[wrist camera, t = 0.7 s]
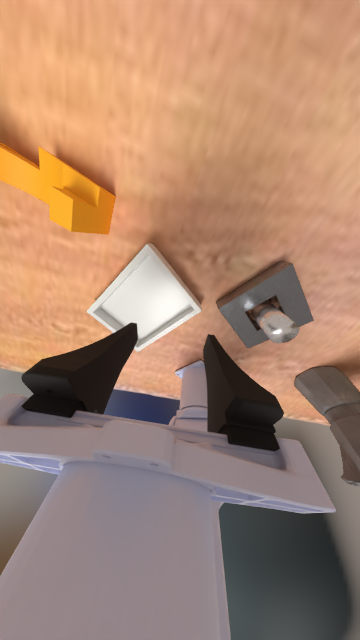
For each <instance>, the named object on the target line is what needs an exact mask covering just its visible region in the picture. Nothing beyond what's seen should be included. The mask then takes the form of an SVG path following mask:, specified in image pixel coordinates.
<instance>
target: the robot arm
mask: <svg viewBox="0 0 360 640" xmlns="http://www.w3.org/2000/svg"><path fill="white" fill-rule="evenodd" d="M137 340H138V330H137V323H132V322H131V323H129V324H128V325H126V326H124V327H123V328H121V329H119V330H118V331H116V332H114V333H113V334H111V335H109V336H107V337H105V338H104V339H102V340H99V341H97V342H95V343H93V344H90V345H88V346H85V347H83V348H80V349H77V350H74V351H71V352H68V353H65V354H61V355H57V356H53V357H49V358H45V359H42V360H41V361H39V362H38V363H37V364H35V365H34V366H33V367H32V368H30V369H29V370H28V371H26V372H25V373H24V374H23V375H22V381H23V382H24V383H25V385H26V386H27V387H28V388H29V389H30V390H31V391H32V392H33V393H34V394H33V395H32V396H31V397H30V398H27V397H24V396H20V395H14V394H6V395H4V396H3V397H2V398H1V399H0V463H5V464H10V465H15V466H20V467H25V468H30V469H35V470H40V471H44V472H50V473H54V474H59V475H58V477H57V479H56V480H55V482H54V484H53V486H52V487H51V489H50V491H49V492H48V494H47V496H46V498H45V499H44V501H43V503H42V505H41V506H40V508H39V510H38V512H37V513H36V515H35V517H34V518H33V520H32V522H31V524H30V526H29V527H28V529H27V531H26V532H25V534H24V536H23V538H22V539H21V541H20V543H19V544H18V546H17V548H16V550H15V551H14V553H13V555H12V557H11V559H10V560H9V562H8V564H7V565H6V567H5V569H4V571H3V572H2V574H1V576H0V640H231V637H230V627H229V617H228V607H227V596H226V587H225V577H224V566H223V556H222V546H221V536H220V527H219V515H218V510H219V508H220V506H221V505H222V504H223V503H224V502H226V503H234V504H242V505H250V506H258V507H265V508H272V509H279V510H285V511H292V512H298V513H323V512H335V510H336V509H335V508H334V506H333V504H332V502H331V500H330V498H329V496H328V494H327V492H326V491H325V489H324V487H323V485H322V483H321V481H320V479H319V477H318V475H317V474H316V472H315V470H314V468H313V466H312V464H311V462H310V460H309V458H308V457H307V455H306V453H305V451H304V449H303V447H302V445H301V443H300V442H299V441H296V440H290V439H284V438H277V439H276V437H275V435H274V433H275V431H276V430H275V428H274V426H273V424H275V423H276V422H277V421H278V420H280V419H281V418H282V417H283V414H284V412H283V410H282V408H281V406H280V404H279V402H278V400H277V399H276V397H275V396H274V395H273V394H271V393H270V392H268V391H267V390H266V389H264V388H263V387H261V386H260V385H259V384H258V383H256V382H255V381H254V380H253V379H251V378H250V377H249V376H248V375H247V374H246V373H245V372H244V371H242V370H241V369H240V368H239V367H238V366H237V365H236V363H235V362H234V361H233V360H232V359H231V358H230V357H229V355H228V354H227V353H226V352H225V350H224V349H223V348H222V346H221V345H220V343H219V342H218V340H217V339H216V337H215V336H214V335H209V334H208V336H207V340H206V343H205V346H204V349H203V355H204V362H203V361H201V360H199V361H197V362H195V363H193V364H190V365H188V366H186V367H184V368H182V369H180V370H177V371H175V374H176V375H177V376H179V377H180V378H181V379H182V386H181V398H180V410H177V415H176V416H174V417H173V418H172V420H171V421H170V423H169V425H163V424H157V423H151V422H145V421H138V420H133V419H126V418H120V417H114V416H108V415H103V414H104V411H105V408H106V406H107V403H108V400H109V398H110V395H111V393H112V390H113V388H114V386H115V383H116V381H117V379H118V377H119V374H120V372H121V370H122V368H123V366H124V365H125V363H126V361H127V360H128V358H129V356H130V354H131V353H132V351H133V349H134V348H135V345H136V343H137Z"/></svg>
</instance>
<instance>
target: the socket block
mask: <svg viewBox="0 0 360 640" xmlns="http://www.w3.org/2000/svg"><path fill="white" fill-rule="evenodd" d="M270 298H272V300H273V302H274V304H275V306H276V308H277V309H279V310H280V311H281V312H282V313H284V314H285V315H286V316H287V317H289V318H290V319H291V320H292V321H294V322H295V323H296V324H297V325H298V326H299V327H300V326H302V325H304V324H307V323H309V322H311V321H314V320H313V317H312V314H311V312H310V309H309V307H308V304H307V301H306V299H305V296H304V293H303V291H302V288H301V285H300V283H299V280H298V277H297V275H296V272H295V269H294V267H293V264H291V263H287V262H283V261H280V262H278V263H276V264H275V265H273V266H272V267H270V268H269V269H267V270H265V271H264V272H262V273H261V274H259V275H258V276H256V277H254V278H253V279H251V280H250V281H248V282H247V283H245V284H244V285H242V286H240V287H239V288H237V289H236V290H234V291H233V292H231V293H229V294H228V295H226V296H225V297H223V298H222V299H220V300H218V301H217V302H216V303H217V306H218V309H219V310H220V312H221V313H222V314H223V316H224V317H225V318H226V320H227V321H228V322H229V324H230V325H231V326H232V328H233V329H234V331H235V332H236V333H237V335H238V336H239V337H240V339H241V340H242V341H243V343H244V344H245V345H246V347H247V348H250V347H253V346H255V345H257V344H260V343H262V342H264V341H267V340H269V338H268V336H267V335H266V334H265V332H264V331H263V330H262V329H261V327H260V326H259V325H258V323H257V322H256V321H253V322H251V321H250V319H249V318H248V316H247V315H246V313H245V312H246V311H248V310H249V309H251V308H253V307H255V306H257V305H259V304H260V303H262V302H264V301H266V300H268V299H270Z"/></svg>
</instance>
